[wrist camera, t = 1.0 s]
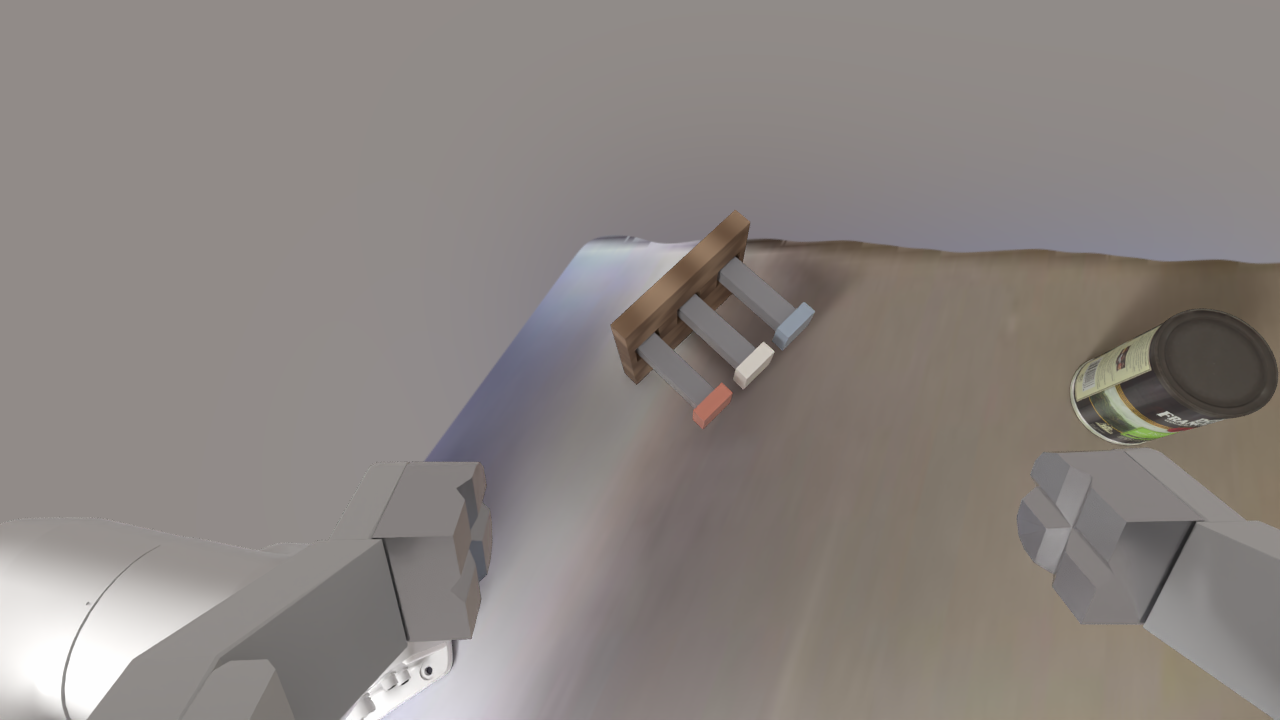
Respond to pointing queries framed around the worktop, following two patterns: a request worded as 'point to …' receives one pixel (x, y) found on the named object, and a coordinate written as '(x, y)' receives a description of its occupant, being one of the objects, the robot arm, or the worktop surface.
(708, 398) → the brick-red plunger
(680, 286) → the walnut panel
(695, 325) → the off-white plunger
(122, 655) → the robot arm
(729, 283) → the blue-capped grey rod
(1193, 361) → the coffee can
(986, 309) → the worktop surface
